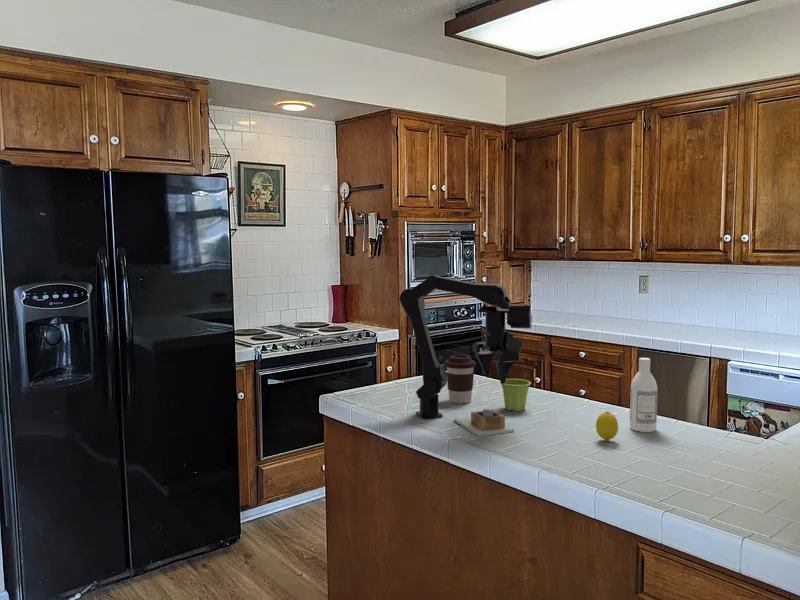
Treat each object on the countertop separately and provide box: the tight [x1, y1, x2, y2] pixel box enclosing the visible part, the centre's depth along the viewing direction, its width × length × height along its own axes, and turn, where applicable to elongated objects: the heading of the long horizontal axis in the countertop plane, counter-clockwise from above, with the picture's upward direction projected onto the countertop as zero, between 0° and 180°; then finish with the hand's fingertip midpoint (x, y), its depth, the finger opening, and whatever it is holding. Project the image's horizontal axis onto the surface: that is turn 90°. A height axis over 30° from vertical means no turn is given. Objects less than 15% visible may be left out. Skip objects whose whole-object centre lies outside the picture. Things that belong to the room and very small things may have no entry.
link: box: [470, 409, 506, 431], centre depth 179 cm, size 7×7×4 cm
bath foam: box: [629, 357, 658, 433], centre depth 176 cm, size 7×7×20 cm
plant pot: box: [499, 378, 532, 412], centre depth 200 cm, size 9×9×9 cm
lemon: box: [595, 410, 619, 442], centre depth 167 cm, size 6×6×8 cm
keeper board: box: [453, 408, 515, 437], centre depth 181 cm, size 16×11×5 cm
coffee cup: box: [444, 354, 476, 405], centre depth 209 cm, size 10×10×15 cm
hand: (495, 380), depth 186 cm, fingers open, 9 cm apart
